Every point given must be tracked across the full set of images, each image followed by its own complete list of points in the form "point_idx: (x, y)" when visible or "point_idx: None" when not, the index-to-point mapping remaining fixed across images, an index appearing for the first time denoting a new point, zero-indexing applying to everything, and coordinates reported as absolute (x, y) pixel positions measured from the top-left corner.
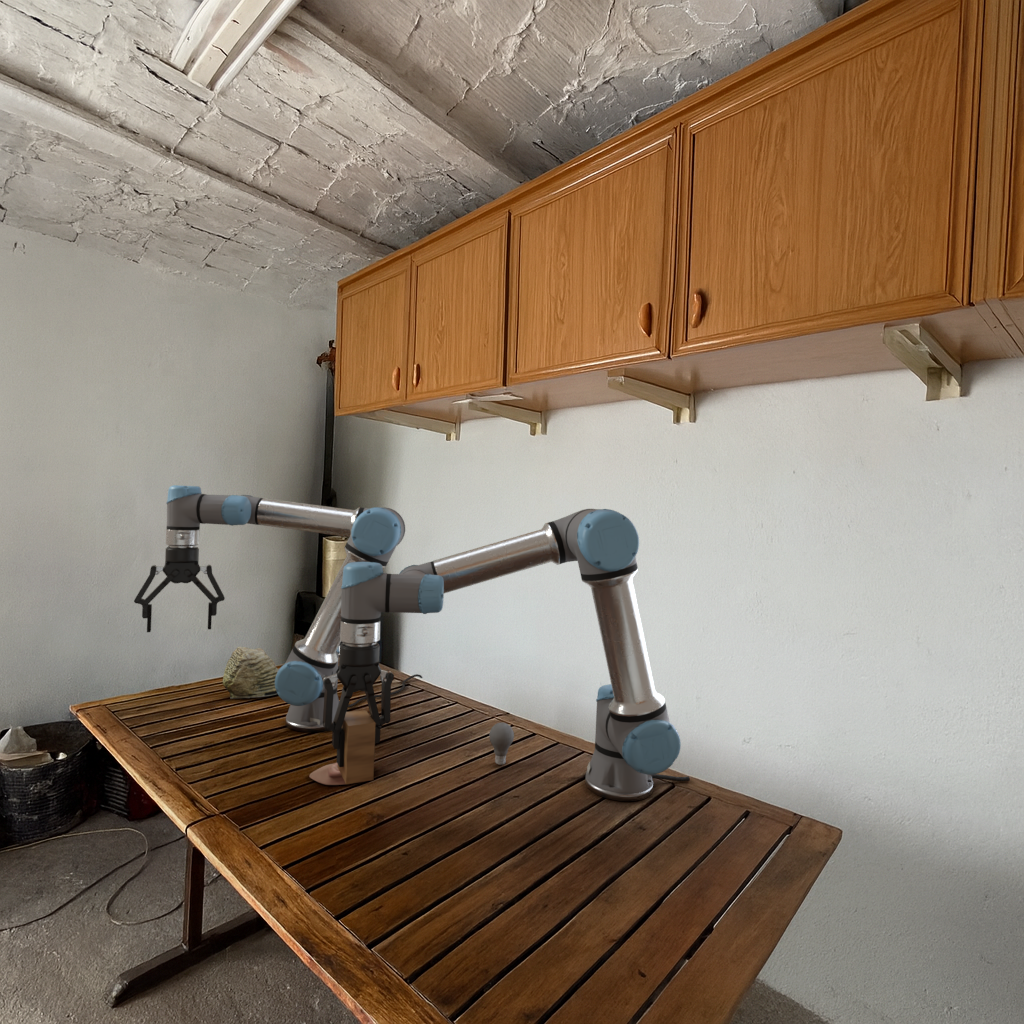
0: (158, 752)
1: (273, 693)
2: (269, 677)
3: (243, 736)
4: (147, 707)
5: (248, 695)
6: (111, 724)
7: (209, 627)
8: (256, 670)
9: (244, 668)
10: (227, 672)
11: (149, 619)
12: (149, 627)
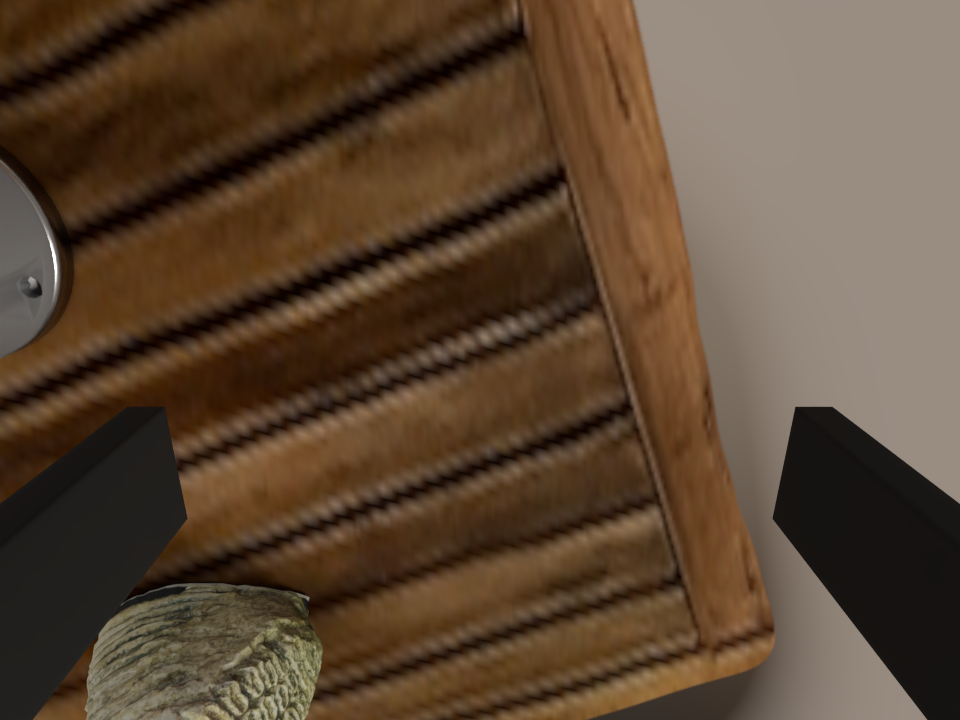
0: (538, 111)
1: (152, 593)
2: (133, 642)
3: (231, 179)
4: (576, 590)
5: (241, 592)
6: (687, 464)
7: (133, 415)
8: (166, 664)
9: (208, 665)
10: (292, 684)
11: (916, 492)
12: (838, 434)
